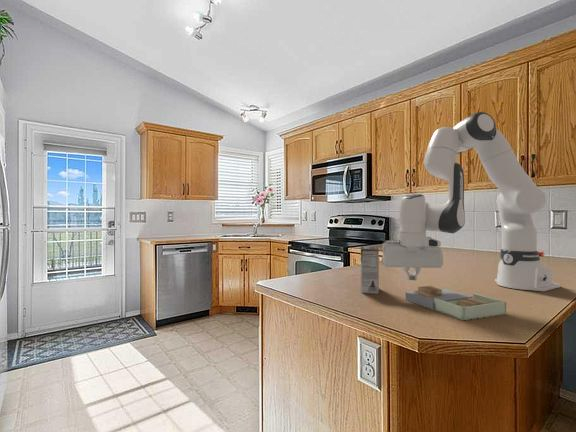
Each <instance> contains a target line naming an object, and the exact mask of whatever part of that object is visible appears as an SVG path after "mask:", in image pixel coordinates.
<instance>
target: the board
mask: <svg viewBox="0 0 576 432" xmlns="http://www.w3.org/2000/svg"><path fill="white" fill-rule="evenodd" d="M438 288H439V289H442V296H433V297H428V296H425V295H422V294H419V293H418V290H415V291H414V290H413V291H406V292H405V300H406V301H407V302H410V303H413V304H416V305H418V306H421V307H424V308H426V307H427V309H429V308H430V309H429V310H432V311H435V310H434V298H437V299H440V300H443V301H446V302H449V301H457V300H461V299H468V298H473V296H471V295H468V294H465V293H461V292H458V291H454V290H451V289H447V288H445V287H444V288H443V287H442V288H441V287H438Z"/></svg>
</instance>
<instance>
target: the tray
mask: <svg viewBox="0 0 576 432" xmlns="http://www.w3.org/2000/svg"><path fill="white" fill-rule="evenodd" d="M472 295H473V296H472V297H473V298H472V299H476V300H480V301H483V302H486V304H482V305H475V306H468V307H461V306H459V300H457V301H449V302H446V301H443V300H440V299H437V298H434V310H433V311H436V312H437V313H438V312H439V313H441V314H444V315H446V314H447V316H449V315H450V316H449V317H452V318H454V317H455V318H454V319H457V318H458V319H457V320H459V319H460V321H462V320H463V322H464V320H466V321H470V319H472V320H478V319H477V318H479V319H484V318H483V317H485V318H491V317H495V316H496V317H497V316H503V315H507V302H506V301H505V300H500V299H497V298H493V297H489V296H486V295H485V296H484V295H481V294H478V293H472ZM490 316H491V317H490Z"/></svg>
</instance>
